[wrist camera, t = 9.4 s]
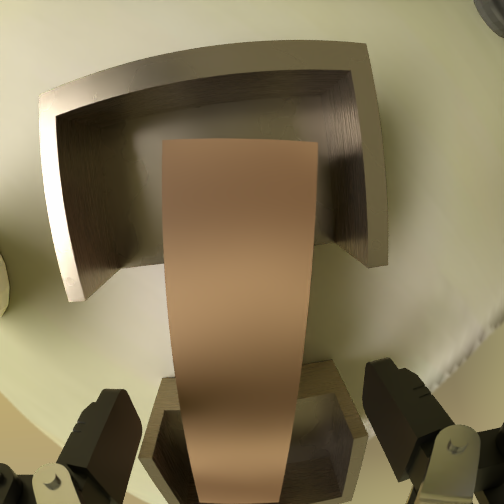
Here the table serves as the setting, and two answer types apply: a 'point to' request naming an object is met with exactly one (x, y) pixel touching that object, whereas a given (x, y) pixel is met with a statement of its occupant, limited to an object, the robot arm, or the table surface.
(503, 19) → the beverage cup
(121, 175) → the bracket
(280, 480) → the rail
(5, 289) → the white cup
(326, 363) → the bracket
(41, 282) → the table surface
